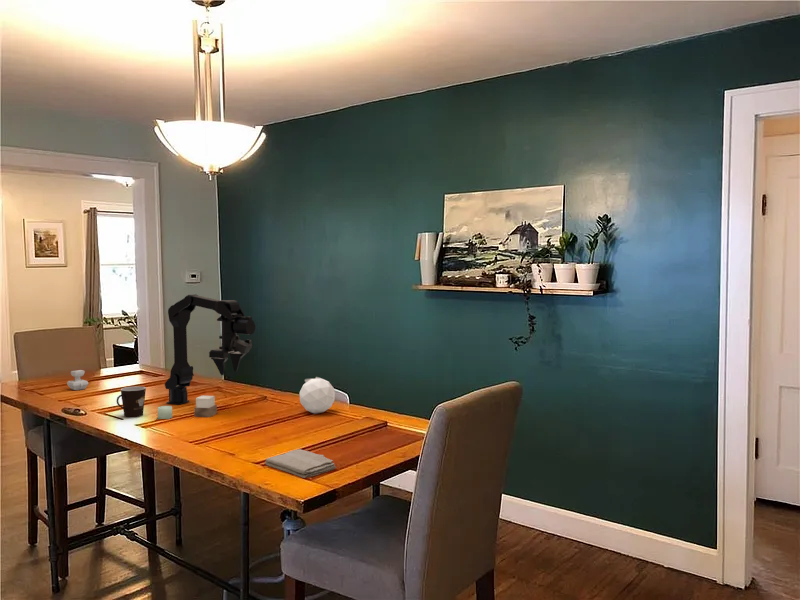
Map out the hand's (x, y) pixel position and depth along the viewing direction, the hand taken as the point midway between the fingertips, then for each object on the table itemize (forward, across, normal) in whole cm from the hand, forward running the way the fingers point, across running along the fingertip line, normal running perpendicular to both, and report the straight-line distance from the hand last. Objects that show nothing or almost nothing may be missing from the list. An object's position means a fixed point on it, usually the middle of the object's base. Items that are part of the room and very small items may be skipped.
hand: (229, 373), depth 245 cm
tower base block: (+14, -11, +3) cm, 18 cm away
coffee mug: (+14, -22, +28) cm, 38 cm away
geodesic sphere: (+14, +6, -34) cm, 38 cm away
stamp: (+15, +12, +85) cm, 87 cm away
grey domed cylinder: (+14, -20, +14) cm, 28 cm away
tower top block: (+11, -11, +3) cm, 16 cm away
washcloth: (+14, -55, -57) cm, 81 cm away
